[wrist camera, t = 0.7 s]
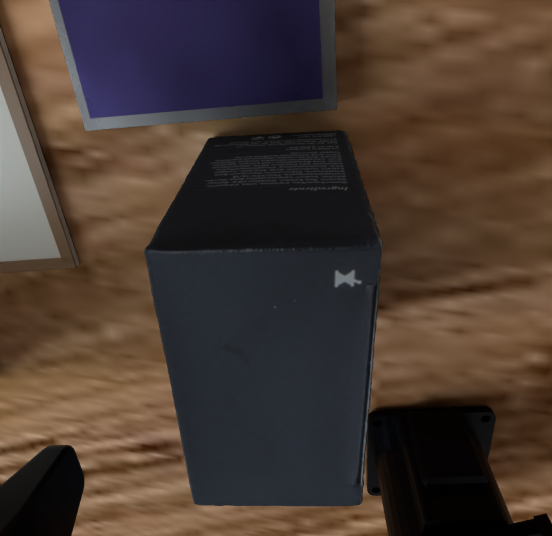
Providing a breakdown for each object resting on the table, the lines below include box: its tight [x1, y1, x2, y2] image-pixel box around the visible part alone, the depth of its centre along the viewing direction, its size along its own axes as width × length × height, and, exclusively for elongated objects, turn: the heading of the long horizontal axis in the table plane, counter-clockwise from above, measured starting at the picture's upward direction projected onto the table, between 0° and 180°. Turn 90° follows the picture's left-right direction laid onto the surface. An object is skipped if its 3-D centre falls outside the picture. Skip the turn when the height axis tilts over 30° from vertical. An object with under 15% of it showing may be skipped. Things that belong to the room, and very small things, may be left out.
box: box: [144, 131, 383, 506], centre depth 17 cm, size 9×6×10 cm, turn 2°
